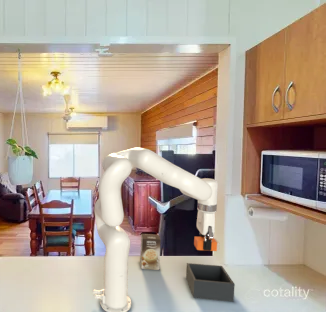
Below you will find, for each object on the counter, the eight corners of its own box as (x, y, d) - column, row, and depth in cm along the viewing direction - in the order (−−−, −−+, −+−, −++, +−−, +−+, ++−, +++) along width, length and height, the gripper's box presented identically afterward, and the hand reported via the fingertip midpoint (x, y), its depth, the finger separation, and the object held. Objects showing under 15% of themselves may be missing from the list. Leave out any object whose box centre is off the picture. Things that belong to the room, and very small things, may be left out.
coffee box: (141, 269, 123) (141, 238, 122) (139, 262, 130) (140, 233, 128) (159, 270, 123) (160, 239, 121) (157, 263, 129) (158, 234, 127)
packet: (197, 249, 106) (197, 241, 106) (194, 244, 111) (194, 236, 111) (219, 251, 105) (219, 242, 105) (215, 246, 110) (215, 237, 109)
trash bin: (193, 297, 102) (194, 280, 101) (186, 278, 116) (186, 263, 115) (233, 301, 100) (234, 284, 99) (221, 281, 113) (222, 265, 112)
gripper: (192, 201, 115) (191, 238, 117) (203, 213, 98) (201, 256, 100) (209, 201, 114) (207, 239, 116) (223, 214, 97) (221, 257, 99)
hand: (205, 246), depth 108 cm, fingers closed on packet, 5 cm apart
